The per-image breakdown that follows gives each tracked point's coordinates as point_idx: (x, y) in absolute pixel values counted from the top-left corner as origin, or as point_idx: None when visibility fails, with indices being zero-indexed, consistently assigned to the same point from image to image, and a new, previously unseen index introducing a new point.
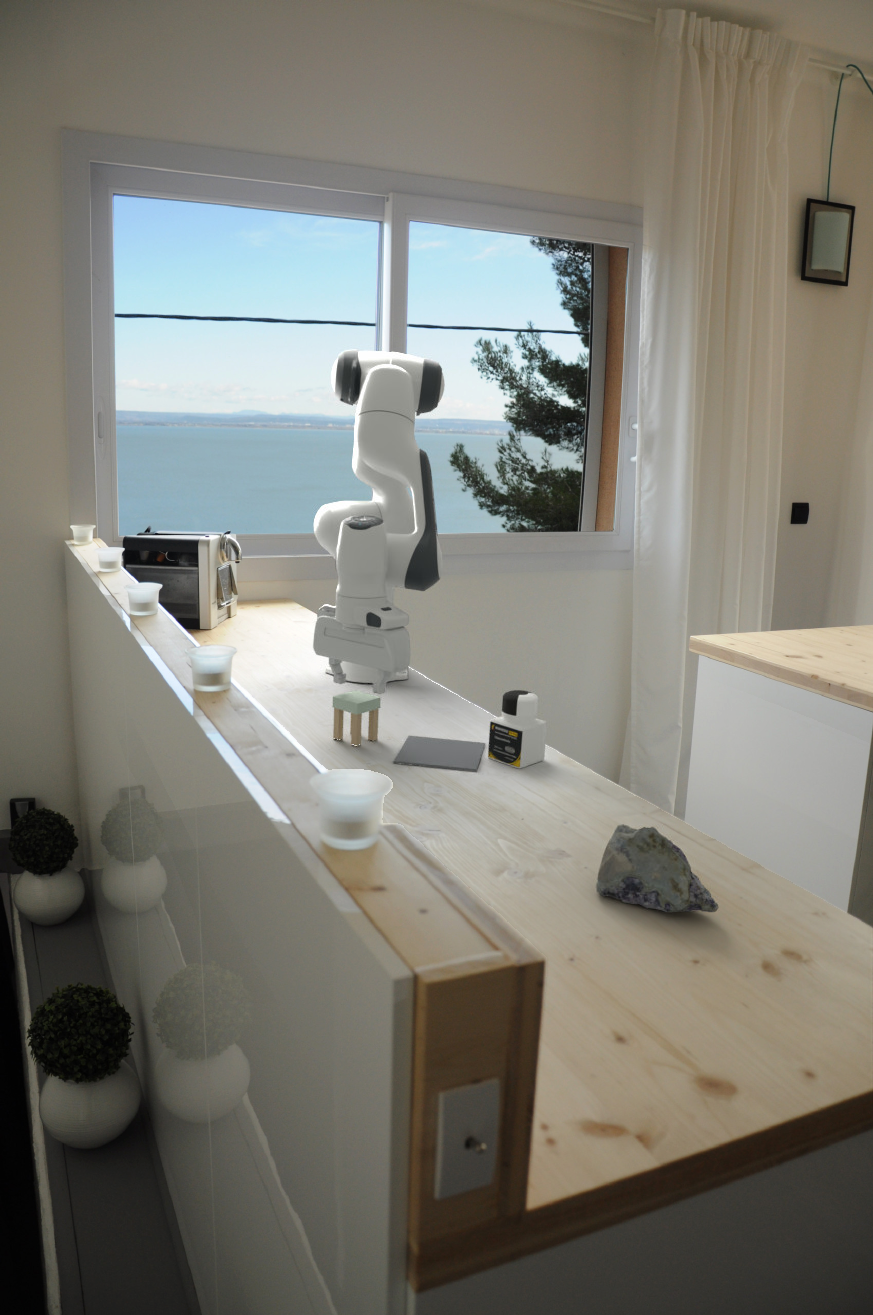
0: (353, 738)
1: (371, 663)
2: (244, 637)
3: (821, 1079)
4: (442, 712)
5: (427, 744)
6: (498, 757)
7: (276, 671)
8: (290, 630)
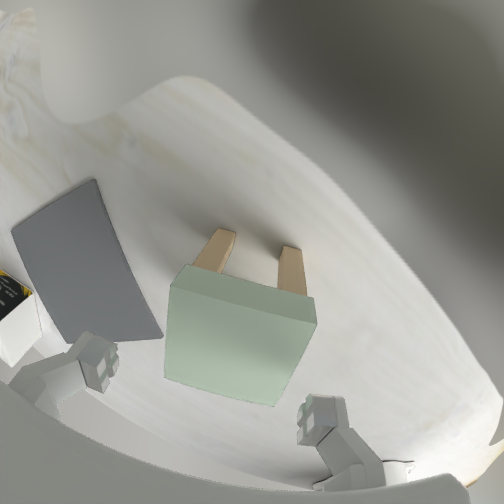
0: (223, 238)
1: (29, 426)
2: (488, 455)
3: None
4: (203, 436)
5: (106, 306)
6: (17, 285)
7: (468, 435)
8: None
